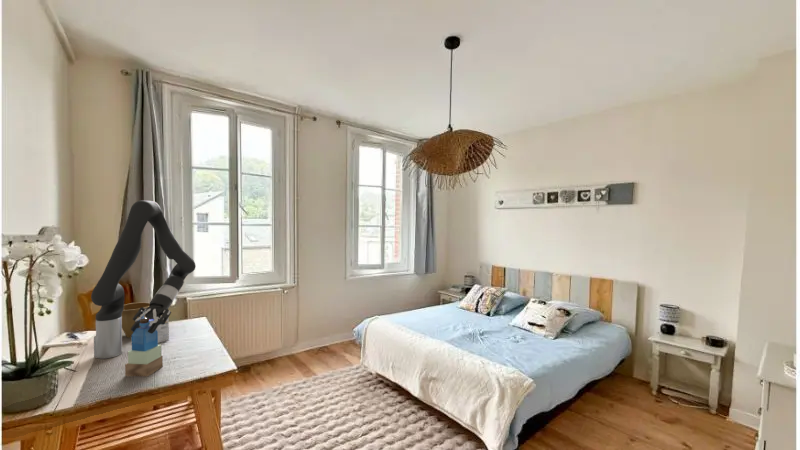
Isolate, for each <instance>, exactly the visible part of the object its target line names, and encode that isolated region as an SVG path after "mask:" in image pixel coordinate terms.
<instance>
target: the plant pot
mask: <svg viewBox="0 0 800 450" xmlns="http://www.w3.org/2000/svg"><path fill="white" fill-rule="evenodd" d="M149 306H150V302H131V303H127V304H124V309H123V312H122V332H123V333H124V334H125V336H126V338H132V334H133V333H134V332H133V331H131V327H132V326H133V325H134V323H135V321H134V320H133V318H134V316H135V315H136V313H137V312H138V311H139V309H140V308H141V307H143V308H144V309H147V308H148V307H149ZM138 317H139V316H138ZM138 317H137V318H138ZM144 317H146V315H145V316H144ZM139 328H140V326H139Z"/></svg>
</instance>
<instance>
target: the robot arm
mask: <svg viewBox="0 0 800 450" xmlns="http://www.w3.org/2000/svg"><path fill="white" fill-rule="evenodd" d="M125 222H126V223H125V225H124V227H123V230H122V231H121V233H120V236H119V238H118V240H117V242H116V244H115V246H114V249H113V250H112V253H111V256H110V258H109V260H108V262H107V264H106V266H105V269H104V271H103V273H102V275H101V277H100V278H99V280H98V282H97V283H96V284H95V286H94V288H93V289H92V292H91V296H90V299H91V301H92V303H93V304H94V305H96V306H100V309H99V310H98V311H97V313H96V314H95V335H94V336H93V357H94V358H97V359H104V360H105V359H111V358H114V357H117V356H120V355H122V353H123V329H122V312H123V309H124V305H125V290H124V287H123V285H121V284H120V283H119V282H120V281H121V279H122V278H123V277H124V275H125V274H126V273H127V272H128V271H129V270H130V268H131V267H132V266H133V265H134V263H135V262H136V261H137V258H138V255H140V251H141V250H142V249H141V248H142V238H143V237H142V236H143V232H144V229H145V227H146V225H147V223H149V224H150V225H151V227H152V228H153V230H154V231H155V234H156V238H157V241H158V244H159V246H160V248H161V250H162V251H163V252H164V254H165V256H166V257H167V258H168V259H169V260H174V262H175V263H176V264H175V265H174V267H173V268H172V269H171V271H170V273H169V275H168V277H167V278H166V280H165V281H164V282H163V284H162V286H160V287H159V289H158V290H157V292H156V293H155V294H154V296H153V297H152V299H151V300H150V301H149V303H150V306H149V307H148V308H147V309H144V308H143V307H141V308H140V309H139V311H138V312H137V313H136V315H135V316H134V318H133V320H134V321H135V323H134V325H133V326H132V327H131V331H133V332H134V331H135V330H136V329H137V328H139V326H140V320H141V319H146V318H148V319H154V323H153V324H152V325H151V327H150V328H149V330H148V332H149V333H151V334H152V333H153V332H154V331H155V330H156V328H157V327H158V326H159V325H160V324H165V322H166V321H167V319H168V317H170V316H171V315H172V312H171V310H170V309H169V308H170V307H171V305H172V303H174V300H175V299H176V297H178V294H179V292H180V291H181V289H182V287H183V285H184V283H185V279H186V278H187V276H188V275H190V274H191V273H193V272H194V271H195V270H196V263H195V261H194V258H192V257H191V256H190V255H189V254H188V253H187V252H186V251H185V250H184V249H183V247H182V246H181V245H180V243H179V241H178V240H177V239H176V237H175V235H174V233H173V232H172V230H171V228H170V226H169V224H168V222H167V220H166V217H165V216H164V213H163V210H162V209H161V206H160V205H159V204H158V202H156V201H153V200H147V199H145V200H143V199H142V200H138V201H136V202H134V203H133V204H132V205H131V207H130V210H129V212H128V216H127V219H126V221H125ZM145 315H146V317H144V316H145ZM138 316H139V317H138ZM137 317H138V318H137ZM163 319H164V320H163Z"/></svg>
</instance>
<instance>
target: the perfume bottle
mask: <svg viewBox="0 0 800 450" xmlns="http://www.w3.org/2000/svg"><path fill="white" fill-rule="evenodd" d="M149 324H150V321H149V319H148V318H146V319H141V320H140V328H137V329H136V330H135V331H134V333H133V334H132V337H131V350H135V351H147V350H149V349H151V348H154V347H156V346H158V345H159V343H158V331H157V330H155V331H154V332H153V333H152V334H151V333H149V332H148V330H149V328H150V327H151V326H149Z"/></svg>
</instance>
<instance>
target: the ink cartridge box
mask: <svg viewBox="0 0 800 450" xmlns="http://www.w3.org/2000/svg"><path fill="white" fill-rule="evenodd" d="M169 317H170V316H169ZM169 317H168V319H167V321H166V322H165V324H160V325H159V326H158V327H157V328H156V330H157V331H158V344H160V343H162V342H167V341H170V332H169V331H170V330H169V329H170V327H169V322H170V321H169V320H170V319H169ZM163 320H164V319H163ZM149 321H150V324H149V326H151V325H152V324H153V323H154V319H149Z"/></svg>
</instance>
